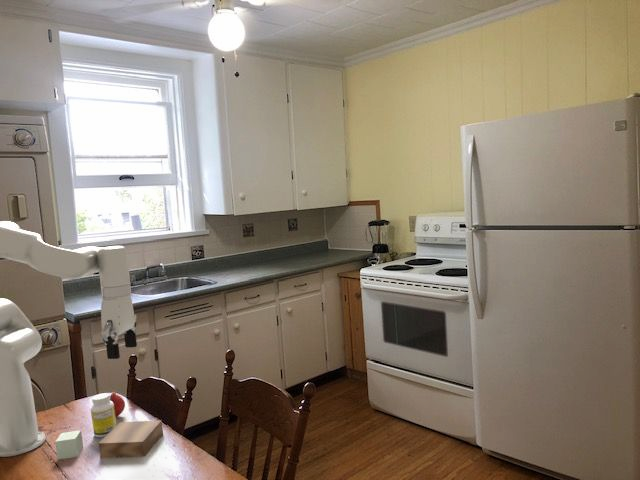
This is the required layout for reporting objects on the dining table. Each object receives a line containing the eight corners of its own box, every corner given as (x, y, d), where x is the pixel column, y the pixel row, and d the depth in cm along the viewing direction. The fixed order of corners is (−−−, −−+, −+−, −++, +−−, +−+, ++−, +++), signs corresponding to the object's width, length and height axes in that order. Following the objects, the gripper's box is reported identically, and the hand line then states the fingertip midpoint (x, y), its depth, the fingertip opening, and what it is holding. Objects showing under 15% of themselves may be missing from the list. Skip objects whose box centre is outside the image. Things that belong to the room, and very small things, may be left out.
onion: (119, 422, 155) (115, 396, 154) (102, 421, 156) (98, 396, 155) (129, 413, 161) (126, 388, 160) (113, 413, 162) (110, 388, 161)
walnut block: (100, 457, 134) (98, 443, 133) (122, 435, 146) (120, 422, 145) (144, 456, 133) (142, 441, 132) (163, 434, 144) (161, 420, 144)
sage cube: (57, 459, 135) (55, 441, 135) (63, 450, 140) (61, 432, 139) (77, 456, 136) (75, 438, 135) (83, 447, 141) (81, 430, 140)
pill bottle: (101, 428, 152) (97, 392, 151) (121, 427, 151) (116, 391, 150) (89, 438, 146) (84, 400, 145) (110, 438, 145) (105, 400, 144)
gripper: (119, 286, 150) (125, 343, 151) (85, 299, 133) (92, 363, 134) (143, 284, 149) (149, 342, 150) (113, 298, 132) (120, 363, 133)
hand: (122, 352), depth 142 cm, fingers open, 9 cm apart
